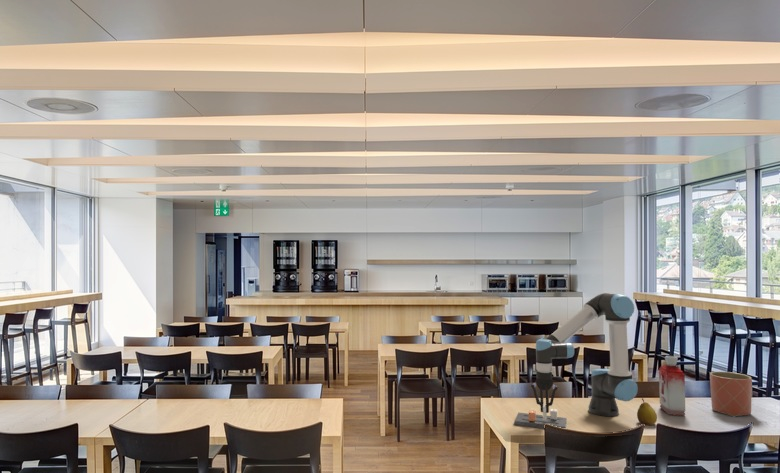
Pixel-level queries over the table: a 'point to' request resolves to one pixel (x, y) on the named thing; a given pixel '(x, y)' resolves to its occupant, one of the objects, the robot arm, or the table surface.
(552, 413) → the fader grey
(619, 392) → the robot arm
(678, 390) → the bottle
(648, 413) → the fruit
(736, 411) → the planter
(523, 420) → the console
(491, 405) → the table surface
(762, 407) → the table surface
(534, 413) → the fader orange
